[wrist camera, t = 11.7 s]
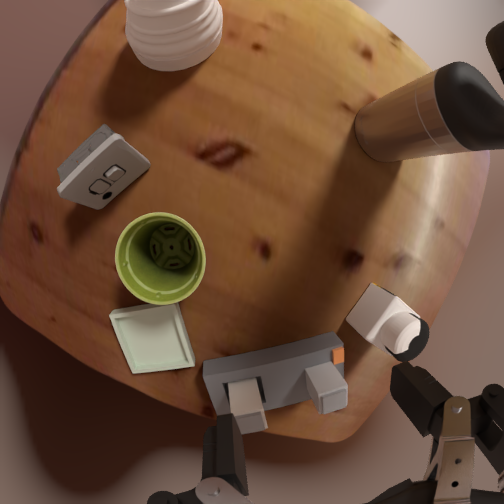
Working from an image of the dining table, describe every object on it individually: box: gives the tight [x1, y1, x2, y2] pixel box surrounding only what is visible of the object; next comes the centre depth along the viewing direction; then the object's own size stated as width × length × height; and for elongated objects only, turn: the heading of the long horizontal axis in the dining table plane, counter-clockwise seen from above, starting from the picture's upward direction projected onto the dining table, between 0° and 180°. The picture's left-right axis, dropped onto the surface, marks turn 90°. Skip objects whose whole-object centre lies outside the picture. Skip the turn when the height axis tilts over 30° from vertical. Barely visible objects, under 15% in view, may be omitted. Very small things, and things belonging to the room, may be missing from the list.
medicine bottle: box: [346, 282, 429, 362], centre depth 34 cm, size 7×7×12 cm
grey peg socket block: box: [203, 331, 348, 415], centre depth 35 cm, size 20×9×11 cm, turn 100°
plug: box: [228, 377, 268, 434], centre depth 34 cm, size 4×4×10 cm
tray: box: [109, 302, 195, 373], centre depth 35 cm, size 10×10×2 cm
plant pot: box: [115, 212, 206, 305], centre depth 30 cm, size 9×9×9 cm
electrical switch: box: [57, 124, 151, 210], centre depth 27 cm, size 9×5×9 cm, turn 125°
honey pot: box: [124, 0, 223, 71], centre depth 20 cm, size 13×13×18 cm
